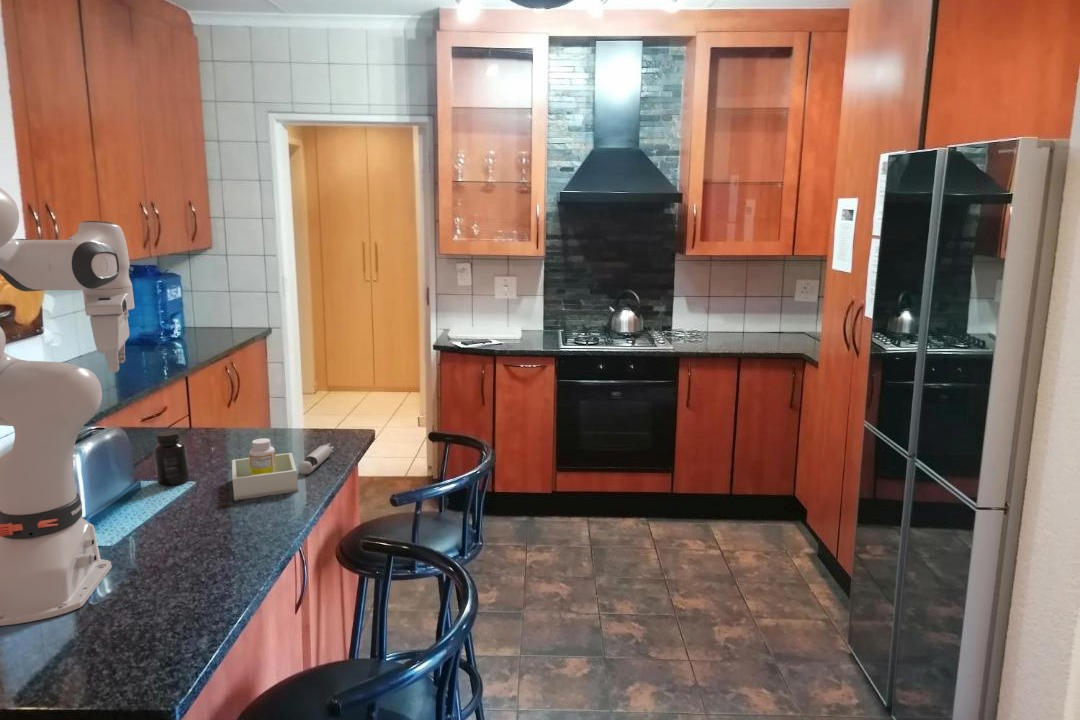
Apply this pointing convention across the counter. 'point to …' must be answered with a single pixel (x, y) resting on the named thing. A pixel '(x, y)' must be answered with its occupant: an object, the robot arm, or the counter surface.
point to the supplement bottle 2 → (262, 457)
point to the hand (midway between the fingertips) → (117, 367)
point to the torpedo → (315, 459)
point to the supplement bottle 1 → (171, 459)
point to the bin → (264, 478)
